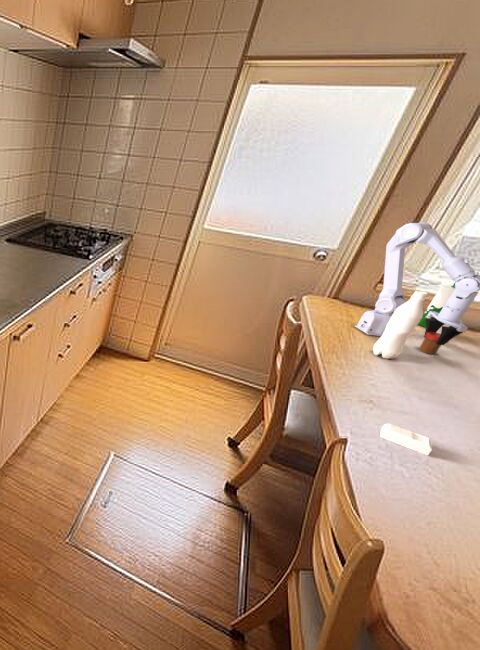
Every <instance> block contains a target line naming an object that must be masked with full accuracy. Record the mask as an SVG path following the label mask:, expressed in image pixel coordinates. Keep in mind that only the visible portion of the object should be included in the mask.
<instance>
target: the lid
mask: <svg viewBox="0 0 480 650" xmlns="http://www.w3.org/2000/svg"><path fill="white" fill-rule="evenodd" d="M424 335H425V334H424ZM440 335H441V334H439V333H435V332H427V333H426V335H425V337H424V338H426V337H427V338H428V339H431V340H434V341H437V340H438V339H439V337H440Z"/></svg>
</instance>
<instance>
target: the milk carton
mask: <svg viewBox="0 0 480 650" xmlns="http://www.w3.org/2000/svg"><path fill="white" fill-rule="evenodd" d="M455 283H456V282H454V283H453V284H446V285H443V286H439V287H440V288H439V289H438V291H437V292H436V294H435V295H434V296H433V298H432V299H431V302H430V303H429V305H428V306H427V308H426V309H425V311H424V312H423V316H422V319H420V321H419V322H418V324H417V326H421V327H423V328H426V321H425V319H426V318H431V317H429V316H427V315H428V313H429V312H430V311H434V312H437V313H440V312H441V310H442V308H443V307H444V305H445V304H446V302H447V301H448V299H449V297H450V296H451V294H452V293H453V292H454V290H455V289H456V288H455Z"/></svg>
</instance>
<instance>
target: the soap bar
mask: <svg viewBox="0 0 480 650" xmlns="http://www.w3.org/2000/svg"><path fill="white" fill-rule="evenodd" d="M380 438H381V439H384V440H386V441H388V442H391V443H394V444H397V445H399V446H402V447H404V448H406V449H409V450H412V451H414V452H416V453H419V454H422V455H424V456H427V457H428V456H429V455H430V453H431V452H432V450H433V449H432V448H433V447H432V441H431V439H430V438H429V437H427V436H424V435H422V434H419V433H416V432H413V431H411V430H409V429H405V428H402V427H401V426H397V425H394V424H393V423H384V424H383V426H382V427H381V428H380Z"/></svg>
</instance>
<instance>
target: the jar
mask: <svg viewBox="0 0 480 650" xmlns="http://www.w3.org/2000/svg"><path fill="white" fill-rule="evenodd" d="M436 343H437V341H434V340H431V339H428V338H427V337H424V339H423V340H422V343H421V344H420V345H419V347H418V350H419V351H420V352H422V353H425V354H428V355H437V353H438V351H439V350H440V349H441V347H442V345H438V344H436Z"/></svg>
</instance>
